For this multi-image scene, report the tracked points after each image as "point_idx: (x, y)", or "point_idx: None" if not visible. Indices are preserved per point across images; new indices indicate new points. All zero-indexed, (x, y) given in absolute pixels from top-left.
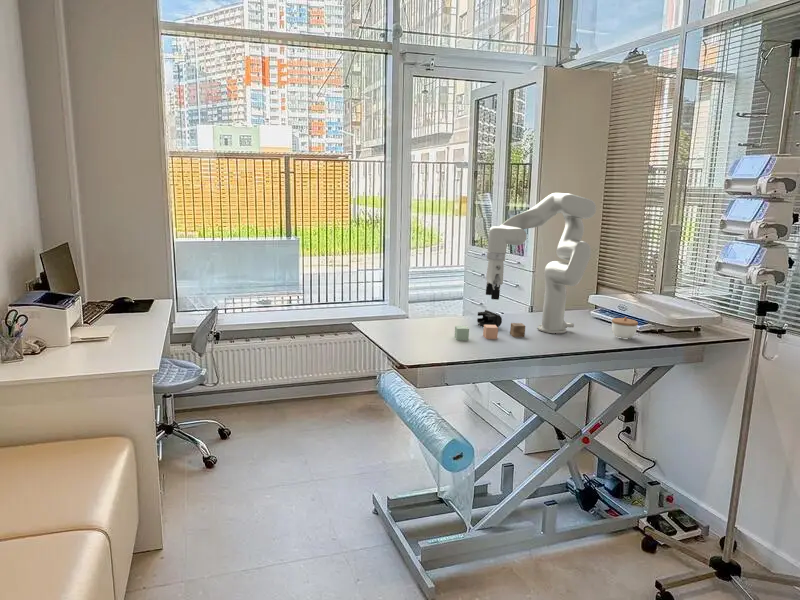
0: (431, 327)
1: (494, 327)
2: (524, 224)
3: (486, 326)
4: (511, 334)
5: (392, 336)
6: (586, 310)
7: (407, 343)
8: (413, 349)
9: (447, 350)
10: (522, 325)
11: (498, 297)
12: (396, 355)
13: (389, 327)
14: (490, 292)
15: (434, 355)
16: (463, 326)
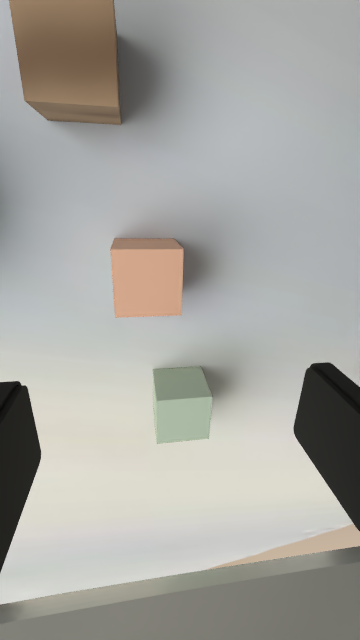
0: None
1: (177, 270)
2: None
3: (158, 310)
4: (81, 121)
5: (164, 551)
6: None
7: (235, 518)
8: (290, 503)
9: None
10: (93, 11)
11: (340, 380)
12: (331, 527)
13: (56, 568)
14: (22, 439)
15: None
16: (169, 414)
